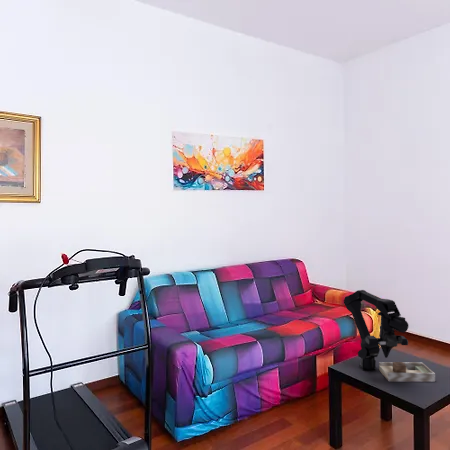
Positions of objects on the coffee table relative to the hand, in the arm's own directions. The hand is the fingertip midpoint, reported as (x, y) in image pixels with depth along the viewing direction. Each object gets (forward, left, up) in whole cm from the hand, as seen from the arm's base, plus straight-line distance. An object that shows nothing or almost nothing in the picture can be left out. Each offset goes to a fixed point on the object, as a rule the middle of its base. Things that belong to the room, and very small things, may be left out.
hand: (386, 357), depth 195 cm
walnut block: (+7, 0, -8) cm, 10 cm away
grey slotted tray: (+11, +2, -10) cm, 15 cm away
